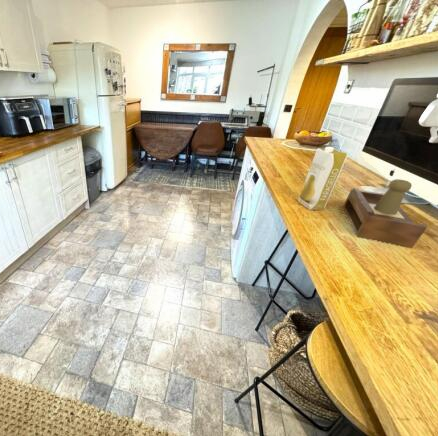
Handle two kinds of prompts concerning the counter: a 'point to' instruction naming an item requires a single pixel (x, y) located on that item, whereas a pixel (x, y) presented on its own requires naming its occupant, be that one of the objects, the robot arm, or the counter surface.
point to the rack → (380, 220)
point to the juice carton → (322, 178)
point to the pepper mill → (393, 197)
